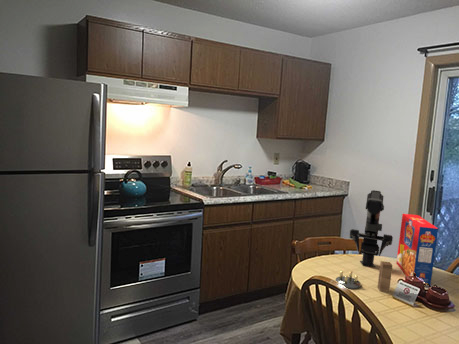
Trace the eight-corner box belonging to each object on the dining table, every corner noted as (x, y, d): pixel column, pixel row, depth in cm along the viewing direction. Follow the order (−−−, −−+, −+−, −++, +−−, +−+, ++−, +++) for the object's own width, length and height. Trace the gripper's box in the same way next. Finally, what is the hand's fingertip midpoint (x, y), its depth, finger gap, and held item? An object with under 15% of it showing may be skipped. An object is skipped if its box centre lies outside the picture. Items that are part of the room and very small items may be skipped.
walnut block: (377, 287, 169) (380, 261, 168) (386, 288, 169) (389, 262, 167) (379, 291, 165) (383, 264, 164) (389, 292, 165) (392, 265, 163)
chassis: (339, 276, 179) (340, 267, 178) (363, 283, 173) (364, 273, 172) (332, 283, 170) (333, 274, 169) (356, 291, 164) (357, 281, 163)
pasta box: (396, 263, 204) (402, 213, 200) (411, 265, 202) (418, 215, 199) (412, 284, 176) (419, 226, 173) (430, 286, 175) (438, 228, 171)
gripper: (352, 213, 176) (347, 243, 168) (395, 219, 169) (392, 251, 161) (352, 223, 185) (347, 252, 177) (392, 229, 178) (390, 260, 170)
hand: (368, 254), depth 171 cm, fingers open, 9 cm apart
